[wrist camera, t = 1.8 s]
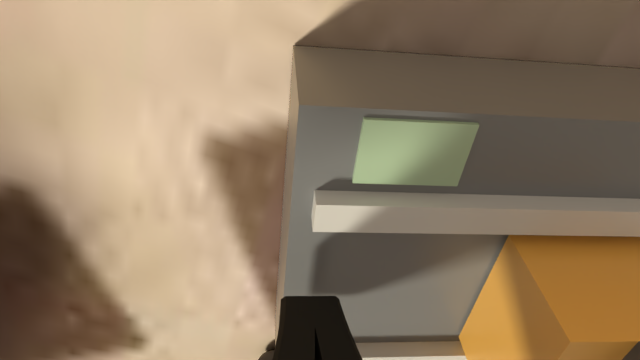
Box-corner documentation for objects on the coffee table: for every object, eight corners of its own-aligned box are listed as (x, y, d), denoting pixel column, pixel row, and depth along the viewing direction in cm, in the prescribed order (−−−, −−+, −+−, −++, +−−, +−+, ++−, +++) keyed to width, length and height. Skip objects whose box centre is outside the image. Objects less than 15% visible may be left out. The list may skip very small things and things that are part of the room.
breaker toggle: (652, 237, 12) (780, 375, 9) (577, 334, 15) (656, 466, 12) (508, 235, 11) (592, 380, 8) (458, 336, 14) (509, 475, 11)
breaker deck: (817, 80, 13) (962, 148, 10) (622, 314, 20) (679, 393, 17) (293, 45, 11) (299, 118, 8) (275, 317, 18) (275, 407, 15)
